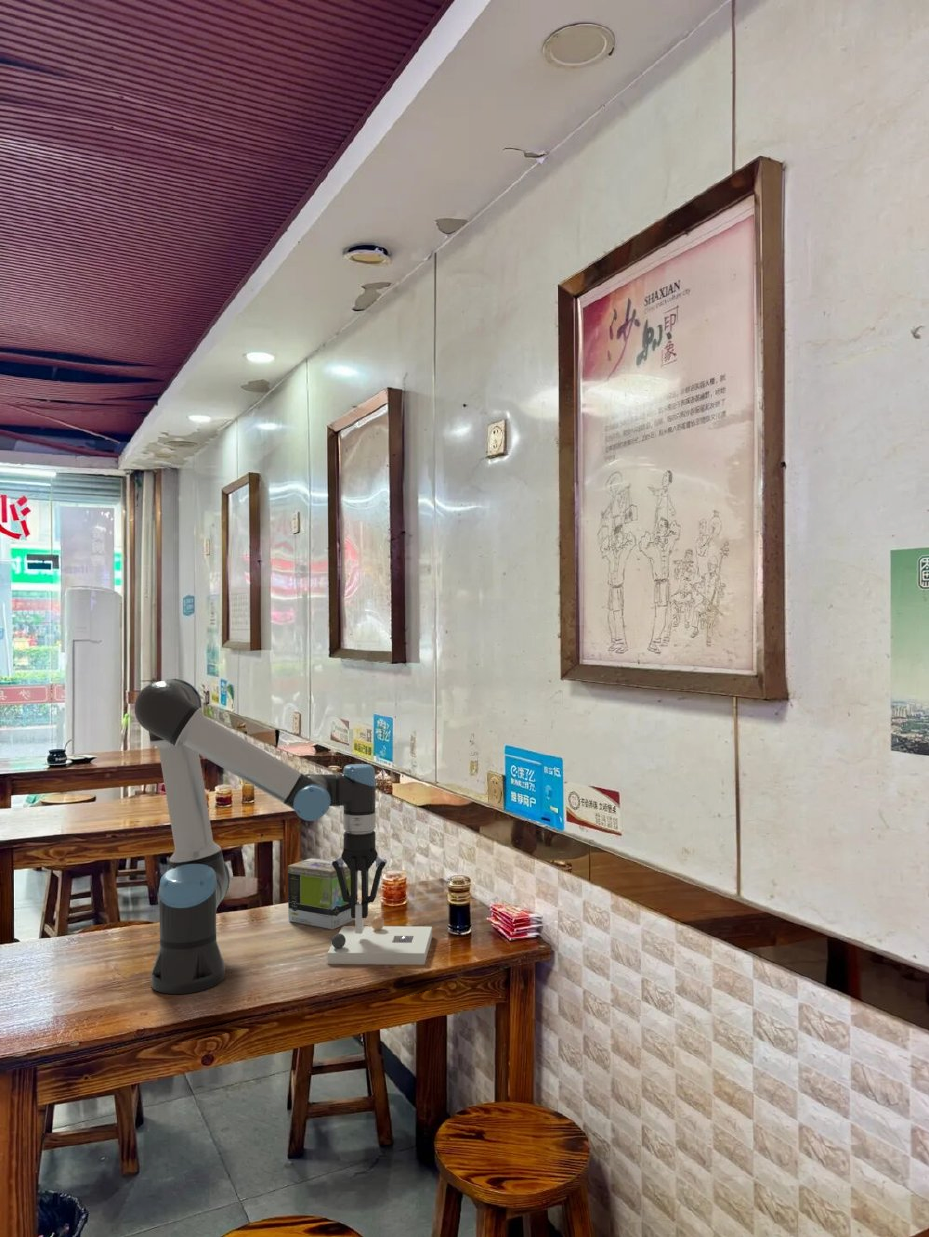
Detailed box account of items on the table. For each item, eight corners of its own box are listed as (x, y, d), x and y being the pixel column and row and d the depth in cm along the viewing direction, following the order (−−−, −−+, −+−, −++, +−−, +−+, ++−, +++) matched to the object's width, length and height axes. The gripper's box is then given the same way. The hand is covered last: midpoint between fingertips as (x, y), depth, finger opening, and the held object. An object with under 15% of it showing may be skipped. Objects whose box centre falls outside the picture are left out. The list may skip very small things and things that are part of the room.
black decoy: (330, 950, 195) (330, 936, 195) (333, 945, 198) (333, 931, 199) (344, 950, 195) (344, 936, 195) (346, 945, 198) (346, 931, 198)
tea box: (356, 919, 225) (356, 862, 225) (331, 931, 216) (331, 871, 216) (312, 911, 232) (311, 855, 233) (286, 921, 224) (286, 864, 224)
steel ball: (398, 938, 201) (411, 938, 200) (399, 933, 204) (413, 933, 204) (398, 952, 200) (411, 952, 200) (399, 947, 204) (413, 947, 203)
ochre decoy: (370, 931, 207) (369, 918, 207) (372, 927, 211) (372, 914, 211) (383, 931, 207) (383, 918, 207) (385, 927, 210) (385, 914, 210)
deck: (327, 963, 194) (327, 952, 194) (343, 936, 212) (343, 926, 212) (424, 964, 193) (424, 953, 193) (432, 936, 211) (432, 926, 211)
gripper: (328, 833, 200) (328, 936, 199) (384, 834, 199) (384, 937, 199) (335, 827, 207) (335, 925, 207) (389, 827, 207) (389, 926, 206)
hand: (359, 931), depth 203 cm, fingers closed
